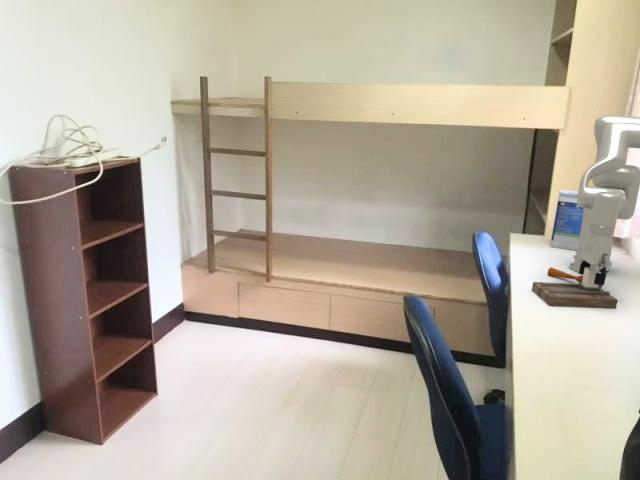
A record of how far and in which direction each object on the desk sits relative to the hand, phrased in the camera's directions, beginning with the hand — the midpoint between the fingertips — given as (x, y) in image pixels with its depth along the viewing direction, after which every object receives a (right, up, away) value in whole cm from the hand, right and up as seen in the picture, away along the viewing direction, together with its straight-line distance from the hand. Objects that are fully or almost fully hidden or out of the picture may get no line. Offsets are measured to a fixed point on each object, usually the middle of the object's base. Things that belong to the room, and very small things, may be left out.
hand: (591, 279), depth 175 cm
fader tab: (0, -4, +1) cm, 4 cm away
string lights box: (+22, +10, +64) cm, 69 cm away
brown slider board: (-5, -7, +2) cm, 9 cm away
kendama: (+3, -3, +17) cm, 18 cm away
